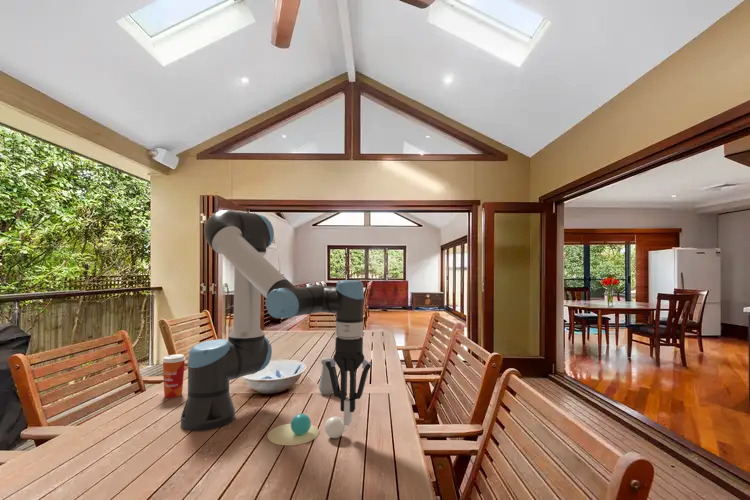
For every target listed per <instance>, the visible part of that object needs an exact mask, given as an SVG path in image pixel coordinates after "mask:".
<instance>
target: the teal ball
mask: <svg viewBox="0 0 750 500" xmlns="http://www.w3.org/2000/svg"><path fill="white" fill-rule="evenodd" d="M290 423H291V429H292V431H293V433H295V434H296V435H304V434H306V433H307V432H308V431H309V429H310V426H311V425H312V422H311V419H310V417H309V416H308V414H307V415H306V414H304V413H299V414H296V415H295V416H293V418H292V419H291V421H290Z"/></svg>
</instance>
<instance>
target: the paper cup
mask: <svg viewBox="0 0 750 500" xmlns="http://www.w3.org/2000/svg"><path fill="white" fill-rule="evenodd" d="M185 361H186V357H185V355H184V354H179V353H177V354H170V355H166V356H164V357H163V358H162V360H161V362H162V369H163V370H162V372H163V373H162V374H163V392H164V398H166V399H175V398H178V397H181V396H182V394H183V389H184V388H183V387H184V385H183V384H184V375H185V374H184V373H185Z"/></svg>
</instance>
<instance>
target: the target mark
mask: <svg viewBox="0 0 750 500" xmlns="http://www.w3.org/2000/svg"><path fill="white" fill-rule="evenodd" d="M319 435H320V430H319V428H318V427H317V426H315V425H314V424H311V426H310V429H309V431H308V432H307V433H306V434H304V435H296V434H295V433H293V431H292V429H291V422H290V423H286V424H281V425H279V426H278V425H277V427H276V426H275V427H274V428H273V429H271V430H269V432H268V434H267V440H268V441H269V442H270V443H272V444H273V445H279V446H287V447H289V446H291V447H292V446H299V445H304V444H307V443H309V442H312V441H313V440H315V439H317V437H319Z"/></svg>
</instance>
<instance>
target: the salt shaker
mask: <svg viewBox="0 0 750 500" xmlns="http://www.w3.org/2000/svg"><path fill="white" fill-rule="evenodd" d="M332 358H333V357H330V356H324V357H322V358H321V361H320V363H321V365H322V366H321V375H320V379H319V384H318V385H319V386H318V388H319V392H320V394H321V395H322V396H330V395H332V394H334V393H333V388H332V383H331V378H330V373H329V370H328V368H327V366H326V364H325V363H326V362H327V361H328V360H331V359H332Z"/></svg>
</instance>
